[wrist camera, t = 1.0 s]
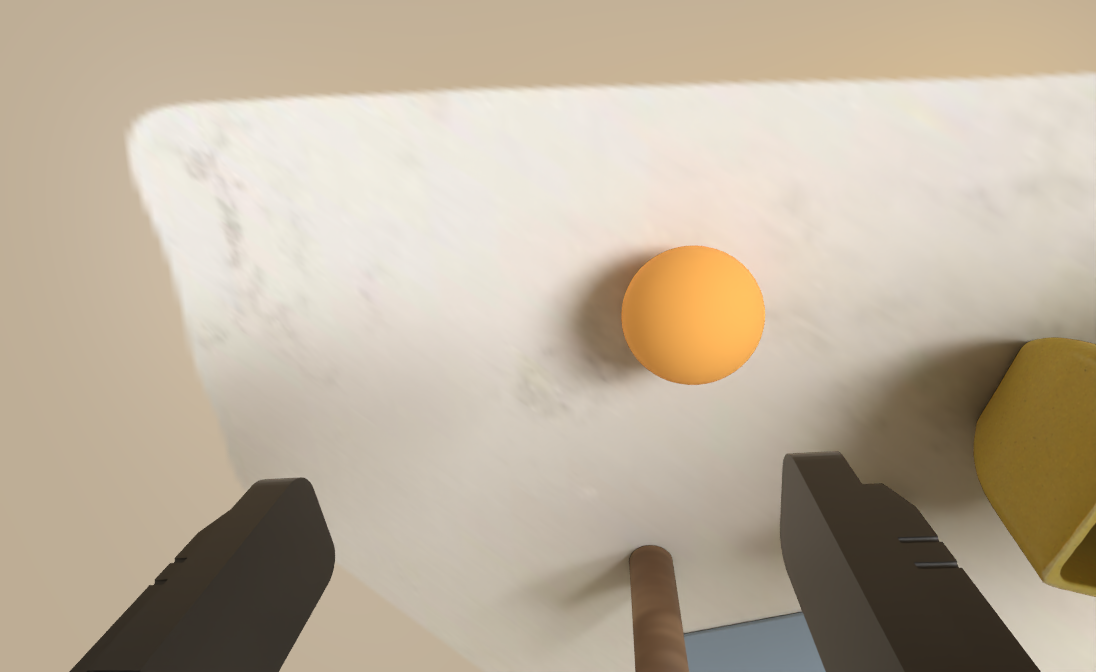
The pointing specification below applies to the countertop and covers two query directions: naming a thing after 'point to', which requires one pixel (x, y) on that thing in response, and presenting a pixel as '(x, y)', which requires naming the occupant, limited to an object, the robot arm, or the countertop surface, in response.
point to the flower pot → (1045, 459)
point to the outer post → (656, 612)
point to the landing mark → (755, 647)
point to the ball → (693, 315)
